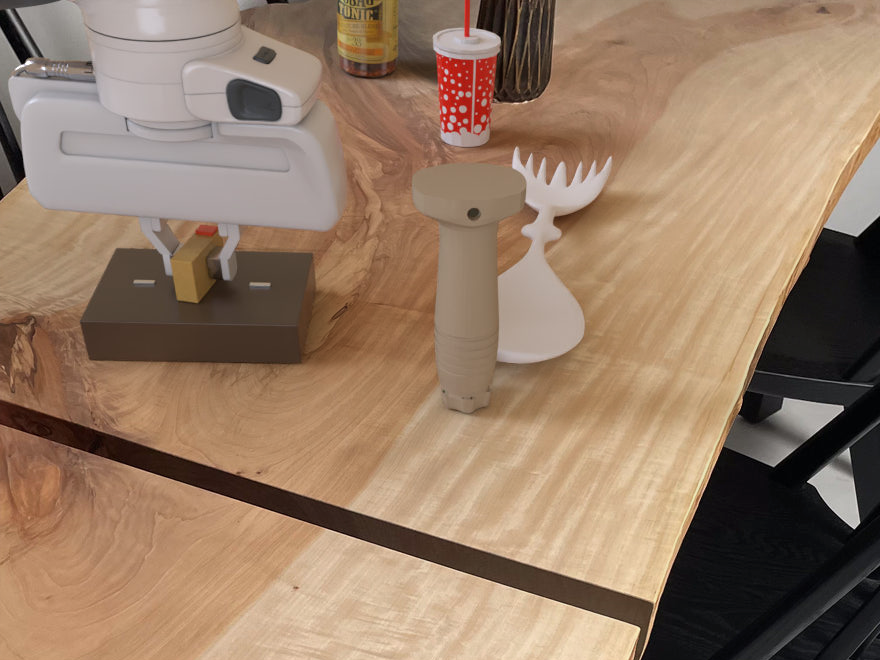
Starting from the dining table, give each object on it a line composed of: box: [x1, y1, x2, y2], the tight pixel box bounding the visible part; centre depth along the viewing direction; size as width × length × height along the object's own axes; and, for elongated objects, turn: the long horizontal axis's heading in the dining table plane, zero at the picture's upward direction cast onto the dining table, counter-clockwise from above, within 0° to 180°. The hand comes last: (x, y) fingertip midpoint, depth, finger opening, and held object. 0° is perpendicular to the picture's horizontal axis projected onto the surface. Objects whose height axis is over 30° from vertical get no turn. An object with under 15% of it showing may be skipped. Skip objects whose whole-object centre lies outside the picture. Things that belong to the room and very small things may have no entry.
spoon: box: [496, 145, 613, 364], centre depth 84 cm, size 9×32×4 cm, turn 172°
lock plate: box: [79, 247, 317, 364], centre depth 76 cm, size 14×10×3 cm
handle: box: [411, 162, 527, 414], centre depth 66 cm, size 5×6×15 cm
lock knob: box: [170, 223, 224, 303], centre depth 74 cm, size 5×2×3 cm, turn 169°
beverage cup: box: [432, 0, 502, 148], centre depth 99 cm, size 6×6×14 cm
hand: (202, 274), depth 75 cm, fingers closed on lock knob, 2 cm apart
